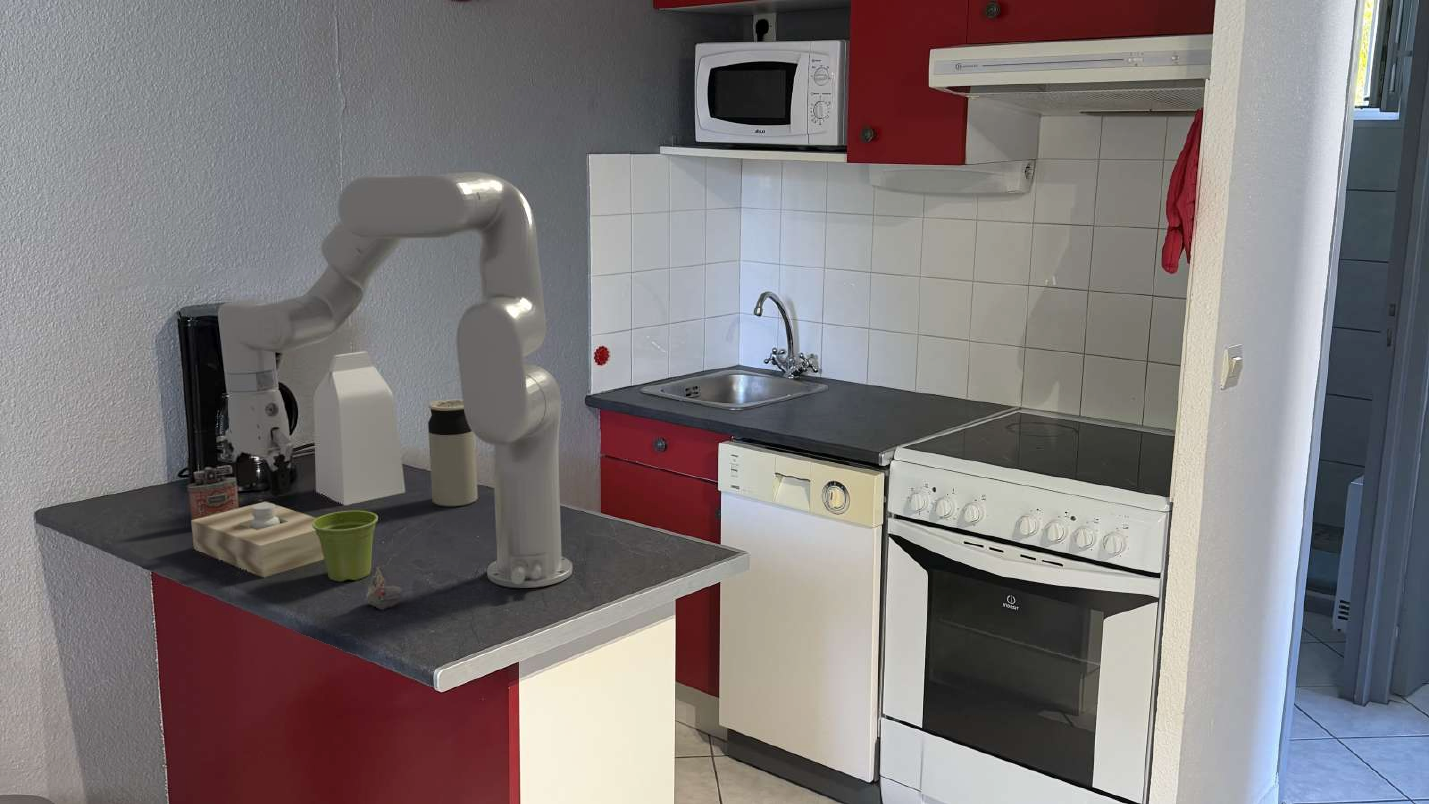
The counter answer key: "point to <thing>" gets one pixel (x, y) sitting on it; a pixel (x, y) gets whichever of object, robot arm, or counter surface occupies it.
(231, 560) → the hole block
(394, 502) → the counter surface
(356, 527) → the plant pot
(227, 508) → the lighter
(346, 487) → the milk
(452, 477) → the travel mug
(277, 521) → the pill bottle
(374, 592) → the figurine
